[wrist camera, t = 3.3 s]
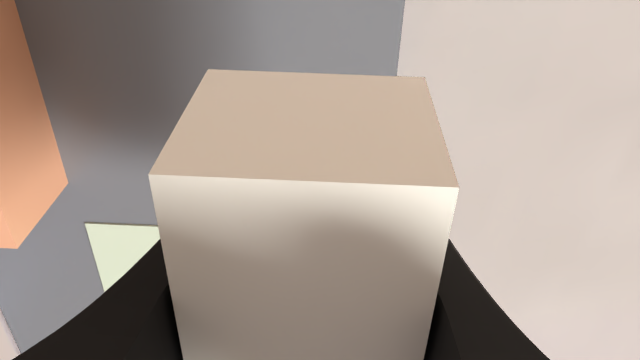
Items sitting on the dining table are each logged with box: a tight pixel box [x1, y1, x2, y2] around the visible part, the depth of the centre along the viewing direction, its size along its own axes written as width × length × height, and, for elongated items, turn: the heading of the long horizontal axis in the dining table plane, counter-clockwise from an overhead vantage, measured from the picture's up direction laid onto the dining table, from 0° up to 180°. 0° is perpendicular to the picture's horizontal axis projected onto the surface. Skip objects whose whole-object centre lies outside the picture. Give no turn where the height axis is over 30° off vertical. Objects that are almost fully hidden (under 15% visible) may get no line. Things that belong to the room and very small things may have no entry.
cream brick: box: [148, 69, 459, 360], centre depth 12 cm, size 4×8×4 cm, turn 179°
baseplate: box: [0, 0, 405, 354], centre depth 23 cm, size 18×24×1 cm
